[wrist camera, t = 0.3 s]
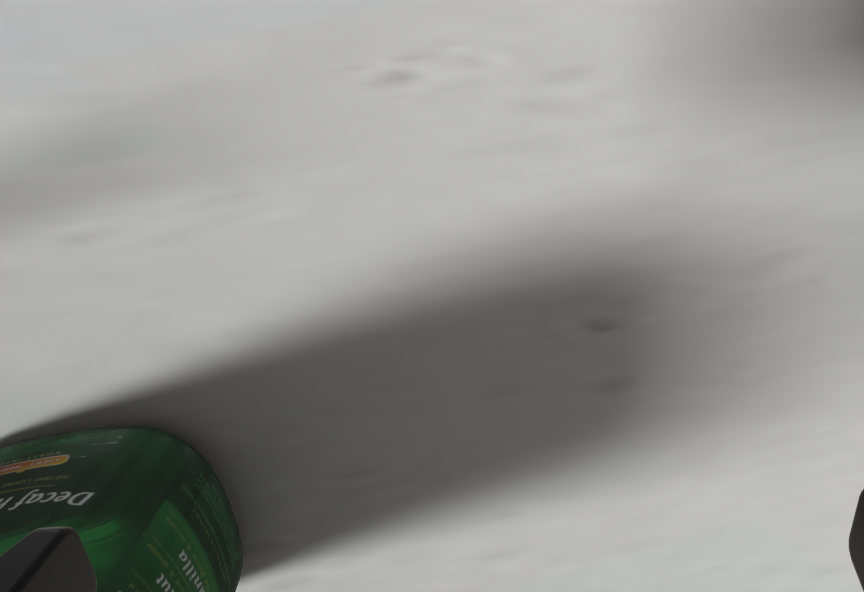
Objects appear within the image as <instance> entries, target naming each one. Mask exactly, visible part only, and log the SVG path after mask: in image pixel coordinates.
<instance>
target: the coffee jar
mask: <svg viewBox="0 0 864 592" xmlns="http://www.w3.org/2000/svg"><path fill="white" fill-rule="evenodd" d="M65 526H67V527H72V528H73V529H74V530H75V531H77V533H78V535H79V537H80V539H81V541H82V544H83V546H84V548H85V550H86V553H87V555H88V557H89V559H90V562H91V564H92V566H93V568H94V571H95V574H96V579H97V588H96V592H235V591H236V588H237V585H238V582H239V579H240V575H241V570H242V563H243V556H242V546H241V540H240V537H239V531H238V526H237V524H236V521H235V518H234V515H233V512H232V509H231V506H230V503H229V500H228V498H227V496H226V494H225V491H224V489H223V487H222V485H221V483H220V481H219V479H218V477H217V476H216V474H215V473H214V471H213V470H212V468H211V467H210V465H209V464H208V462H207V461H206V460H205V459H204V458H203V457H202V455H201V454H199V453H198V452H197V451H196V450H194V449H193V448H192V447H191V446H189V445H188V444H187V443H185V442H184V441H183V440H181V439H179V438H177V437H176V436H174V435H172V434H169V433H167V432H164V431H162V430H157V429H152V428H147V427H117V428H102V429H92V430H83V431H76V432H70V433H62V434H57V435H52V436H47V437H42V438H37V439H32V440H28V441H24V442H20V443H16V444H12V445H9V446H6V447H3V448H0V555H2V554H3V553H4V552H6V551H7V550H8V549H10V548H11V547H12V546H13V545H15V544H16V543H17V542H19V541H20V540H21V539H23V538H24V537H25V536H26V535H28V534H29V533H31V532H32V531H34V530H36V529H39V528H46V527H65Z"/></svg>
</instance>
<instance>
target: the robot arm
mask: <svg viewBox="0 0 864 592" xmlns="http://www.w3.org/2000/svg"><path fill="white" fill-rule="evenodd" d="M849 551H850V556H851V559H852V562H853V565H854V568H855V570H856V573H857V575H858V578H859V580H860V583H861V586H862V588H863V591H864V489H863V491H862V492H861V494H860V497H859V500H858V504H857V508H856V512H855V516H854V520H853V524H852V528H851V532H850V536H849ZM96 588H97V579H96V574H95V571H94V568H93V566H92V564H91V562H90V559H89V557H88V555H87V553H86V550H85V548H84V546H83V544H82V541H81V539H80V537H79V535H78V533H77V531H75V530H74V529H73V528H72V527H67V526H65V527H46V528H39V529H36V530H34V531H32V532H31V533H29V534H28V535H26V536H25V537H24V538H23V539H21V540H20V541H19V542H17V543H16V544H15V545H13V546H12V547H11V548H10V549H8V550H7V551H6V552H4V553H3V554H2V555H0V592H96Z"/></svg>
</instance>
